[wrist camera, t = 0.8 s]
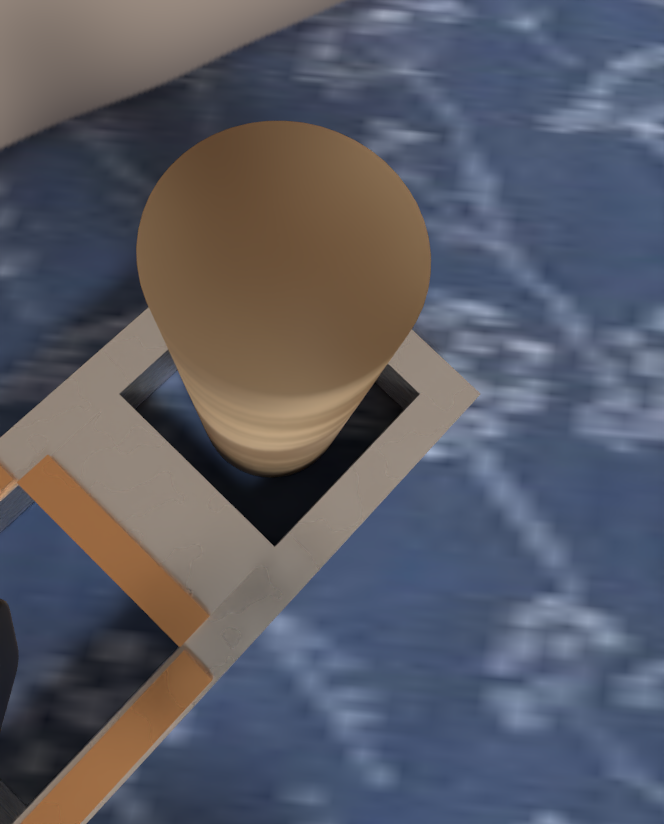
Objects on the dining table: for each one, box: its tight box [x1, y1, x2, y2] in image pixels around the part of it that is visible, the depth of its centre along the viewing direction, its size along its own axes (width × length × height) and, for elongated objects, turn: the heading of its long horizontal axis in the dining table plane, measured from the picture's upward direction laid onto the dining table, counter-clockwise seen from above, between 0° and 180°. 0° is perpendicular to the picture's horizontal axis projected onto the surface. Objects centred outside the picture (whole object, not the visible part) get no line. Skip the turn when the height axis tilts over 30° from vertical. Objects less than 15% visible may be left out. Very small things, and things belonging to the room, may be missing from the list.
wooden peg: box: [136, 121, 431, 478], centre depth 17 cm, size 5×5×13 cm
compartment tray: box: [0, 307, 480, 824], centre depth 21 cm, size 21×10×3 cm, turn 137°
